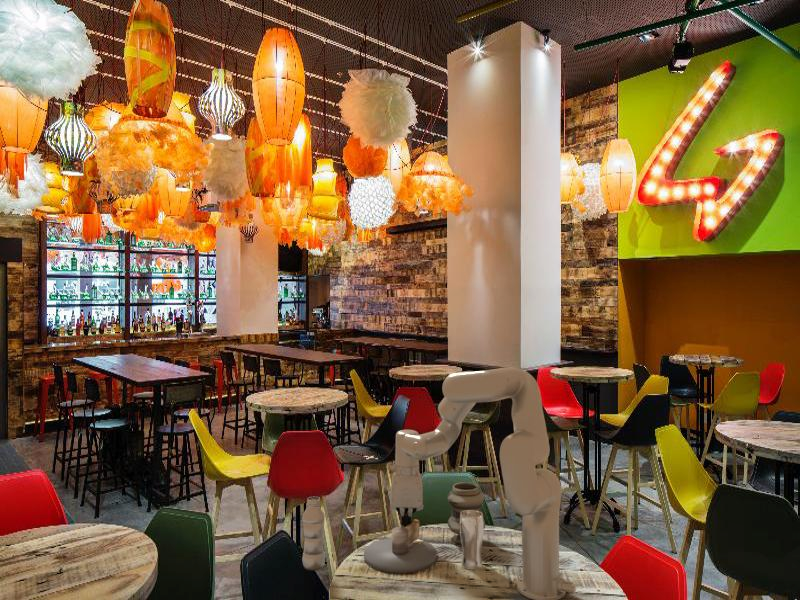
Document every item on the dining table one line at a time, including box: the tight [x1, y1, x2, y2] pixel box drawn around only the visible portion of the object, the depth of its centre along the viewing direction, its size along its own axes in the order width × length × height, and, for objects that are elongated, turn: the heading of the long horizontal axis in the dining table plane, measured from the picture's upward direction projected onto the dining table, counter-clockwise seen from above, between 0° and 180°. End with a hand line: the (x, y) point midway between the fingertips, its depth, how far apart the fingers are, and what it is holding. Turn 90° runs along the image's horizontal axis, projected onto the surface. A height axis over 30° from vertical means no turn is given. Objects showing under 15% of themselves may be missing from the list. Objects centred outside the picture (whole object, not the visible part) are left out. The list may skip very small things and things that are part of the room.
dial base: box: [363, 537, 438, 574], centre depth 170 cm, size 22×22×2 cm
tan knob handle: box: [391, 518, 420, 554], centre depth 174 cm, size 12×5×6 cm, turn 147°
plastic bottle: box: [301, 496, 326, 571], centre depth 163 cm, size 6×7×20 cm
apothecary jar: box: [447, 481, 486, 548], centre depth 182 cm, size 12×12×18 cm
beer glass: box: [460, 510, 485, 571], centre depth 164 cm, size 7×7×15 cm
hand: (406, 527), depth 179 cm, fingers closed
